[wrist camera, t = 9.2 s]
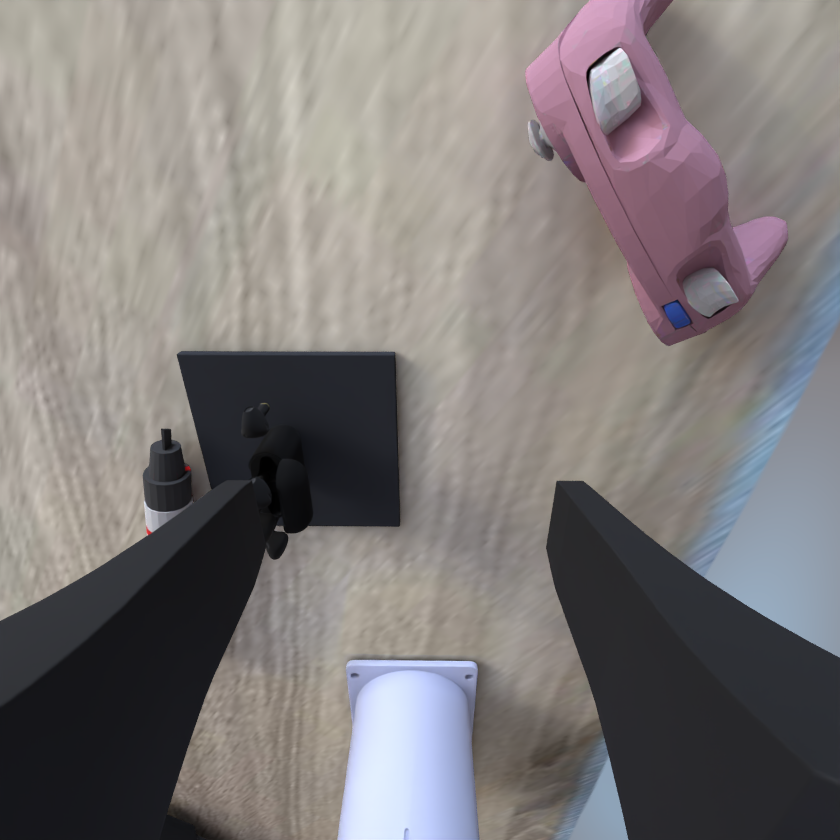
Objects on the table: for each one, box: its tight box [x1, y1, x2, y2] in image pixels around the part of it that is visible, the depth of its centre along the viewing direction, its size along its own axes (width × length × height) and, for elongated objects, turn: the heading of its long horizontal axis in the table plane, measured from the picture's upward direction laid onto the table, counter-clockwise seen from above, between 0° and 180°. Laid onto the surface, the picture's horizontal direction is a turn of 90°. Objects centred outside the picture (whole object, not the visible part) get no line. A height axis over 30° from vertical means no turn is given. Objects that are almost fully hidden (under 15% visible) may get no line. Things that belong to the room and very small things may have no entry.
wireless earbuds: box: [241, 403, 313, 560], centre depth 18 cm, size 7×2×5 cm, turn 0°
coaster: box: [177, 351, 400, 527], centre depth 21 cm, size 9×9×1 cm
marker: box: [143, 429, 193, 536], centre depth 23 cm, size 15×2×2 cm, turn 168°
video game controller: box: [525, 0, 788, 346], centre depth 14 cm, size 10×5×7 cm, turn 38°
